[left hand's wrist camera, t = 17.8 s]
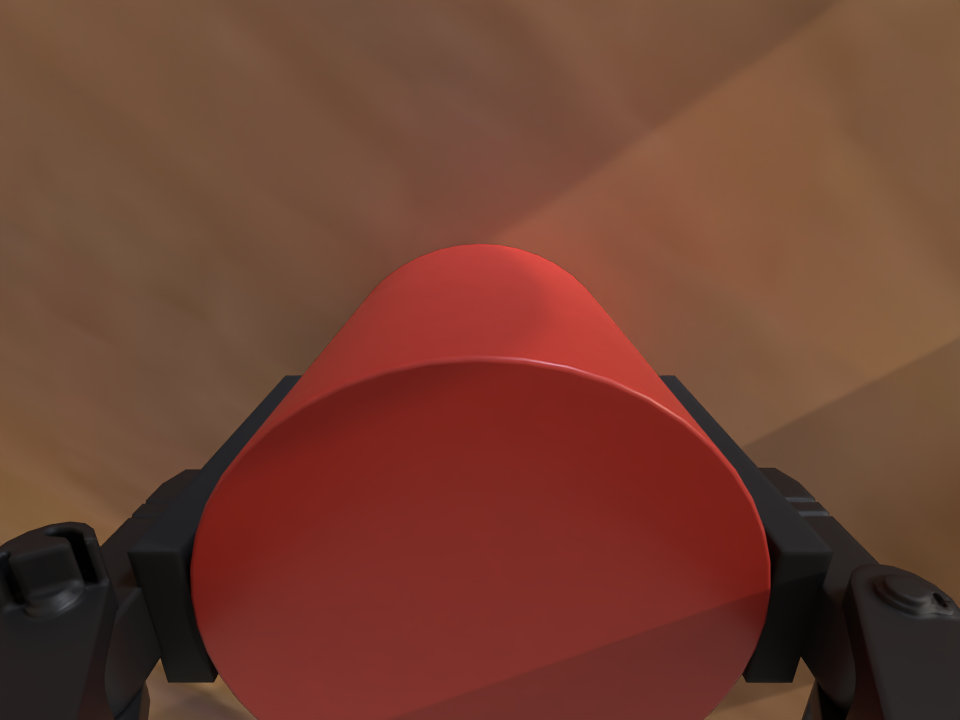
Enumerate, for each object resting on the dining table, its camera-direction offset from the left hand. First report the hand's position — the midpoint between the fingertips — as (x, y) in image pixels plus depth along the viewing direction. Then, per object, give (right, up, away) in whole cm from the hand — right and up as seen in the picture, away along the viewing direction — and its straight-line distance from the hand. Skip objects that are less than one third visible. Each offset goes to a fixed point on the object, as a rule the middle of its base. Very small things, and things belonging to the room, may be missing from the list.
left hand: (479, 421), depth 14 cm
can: (0, +1, +2) cm, 3 cm away
